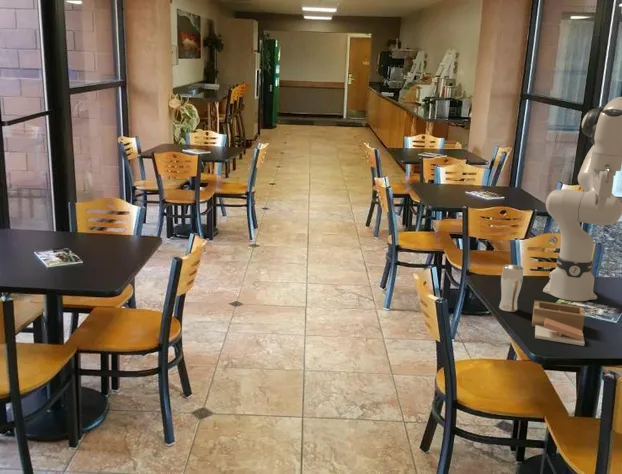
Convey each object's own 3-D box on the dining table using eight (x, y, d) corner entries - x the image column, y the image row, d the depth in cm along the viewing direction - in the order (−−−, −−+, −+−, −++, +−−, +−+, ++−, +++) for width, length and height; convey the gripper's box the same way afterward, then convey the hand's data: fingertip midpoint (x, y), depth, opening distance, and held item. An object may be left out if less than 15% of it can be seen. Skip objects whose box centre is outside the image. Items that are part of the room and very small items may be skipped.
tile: (542, 325, 205) (545, 317, 204) (578, 338, 202) (581, 330, 201) (542, 330, 200) (545, 323, 199) (579, 343, 198) (582, 336, 197)
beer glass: (500, 303, 229) (505, 263, 226) (520, 308, 226) (526, 266, 222) (495, 309, 223) (500, 267, 220) (515, 313, 220) (521, 271, 217)
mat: (535, 328, 208) (535, 325, 208) (582, 335, 204) (582, 332, 204) (535, 338, 200) (535, 335, 200) (584, 345, 196) (584, 342, 195)
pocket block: (532, 317, 218) (534, 300, 216) (580, 324, 213) (582, 307, 212) (531, 326, 209) (534, 308, 208) (581, 334, 205) (584, 316, 203)
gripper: (621, 168, 189) (613, 215, 192) (613, 160, 208) (606, 203, 211) (597, 166, 191) (590, 212, 194) (592, 159, 210) (585, 201, 213)
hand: (598, 207), depth 203 cm, fingers open, 8 cm apart
